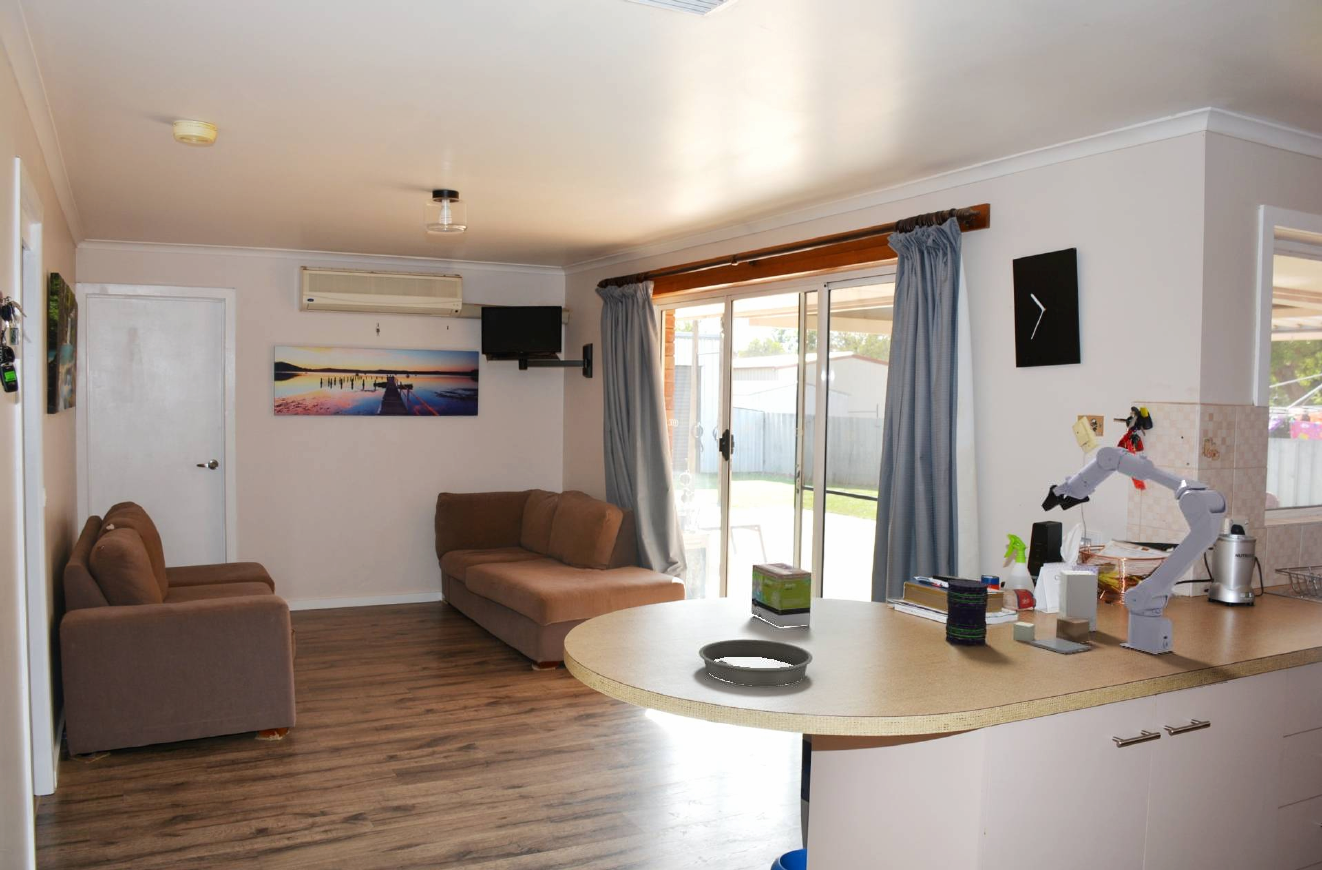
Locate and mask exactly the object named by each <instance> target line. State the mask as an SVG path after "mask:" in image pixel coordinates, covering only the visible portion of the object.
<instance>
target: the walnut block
mask: <svg viewBox="0 0 1322 870" xmlns="http://www.w3.org/2000/svg"><path fill="white" fill-rule="evenodd" d="M1055 628H1056V629H1055V630H1056V633H1055V634H1056V635H1055V637H1056V638H1060V639H1064V640H1067V641H1071V642H1075V643H1081V642H1087V641H1089V642H1090V639H1089V637H1090V631H1089V621H1087V620H1082V619H1078V618H1074V617H1065V618H1059V617H1058V618H1056V627H1055ZM1087 643H1088V642H1087ZM1081 644H1082V643H1081Z"/></svg>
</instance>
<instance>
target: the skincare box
mask: <svg viewBox="0 0 1322 870" xmlns="http://www.w3.org/2000/svg"><path fill="white" fill-rule="evenodd" d="M1098 576H1099V575H1098V574H1097V573H1095V572H1093V571H1091V570H1071V569H1070V570H1068V569H1067V570H1065V569H1060V570H1059V590H1058V591H1059V593H1058V594H1059V595H1058V596H1059V598H1058V618H1065V617H1074V618H1078V619H1082V620H1087V621H1089V632H1093V631H1096V632H1097V611H1098V607H1097V606H1098V603H1097V602H1098V601H1097V598H1098Z"/></svg>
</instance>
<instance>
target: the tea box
mask: <svg viewBox="0 0 1322 870" xmlns="http://www.w3.org/2000/svg"><path fill="white" fill-rule="evenodd" d="M751 572H752V573H751V574H752V576H751V578H752V579H751V609H750V610H751V611H750V612H751V613H752V614H754V615H757V616H758V617H761V618H762V619H765V620H766V621H768V622H770V623H772V624H774V625H776V626H779V627H784V626H801V625H810V626H811V600H812V599H811V598H812V572H811V571H807V570H804V569H802V568H799V567H796V566H792V565H790V564H786V563H784V562H777V563H776V562H775V563H762V564H752V571H751Z"/></svg>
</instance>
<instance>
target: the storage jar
mask: <svg viewBox="0 0 1322 870" xmlns="http://www.w3.org/2000/svg"><path fill="white" fill-rule="evenodd" d="M988 588H989V584H988V583H987V582H984V581H980V580H972V579H963V578H962V579H949V580H948V581H947V591H946V597H947V598H946V604H947V617H946V619H945V620H946V621H945V641H946V642H947V643H949V644H951V645H955V646H960V647H966V648H967V647H969V648H979V647H984V646H985V645H987V641H986V639H987V632H988V631H987V630H988V629H987V622H986V620H987V608H988V600H989V595H988V594H989V593H988V591H989V590H988Z"/></svg>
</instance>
